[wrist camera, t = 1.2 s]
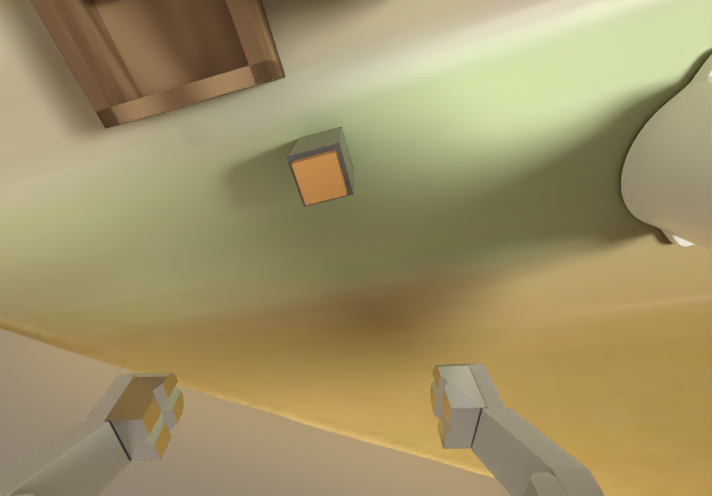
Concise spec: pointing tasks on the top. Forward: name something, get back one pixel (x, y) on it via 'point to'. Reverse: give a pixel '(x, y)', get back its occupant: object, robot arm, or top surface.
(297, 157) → the block
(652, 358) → the top surface
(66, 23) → the box
